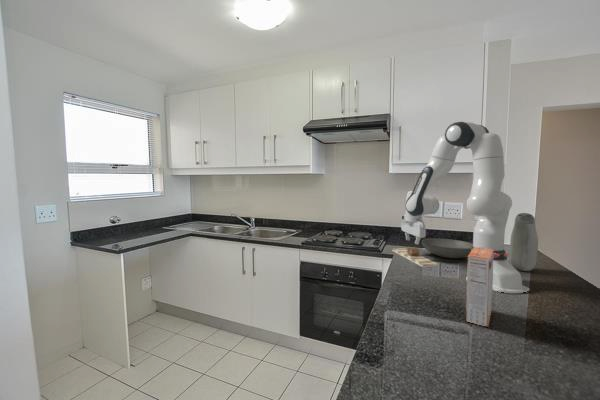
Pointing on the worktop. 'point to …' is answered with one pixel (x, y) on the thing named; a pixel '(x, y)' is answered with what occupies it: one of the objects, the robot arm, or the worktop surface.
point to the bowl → (448, 248)
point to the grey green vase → (524, 243)
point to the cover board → (415, 256)
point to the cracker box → (479, 286)
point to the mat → (408, 258)
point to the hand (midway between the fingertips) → (412, 242)
